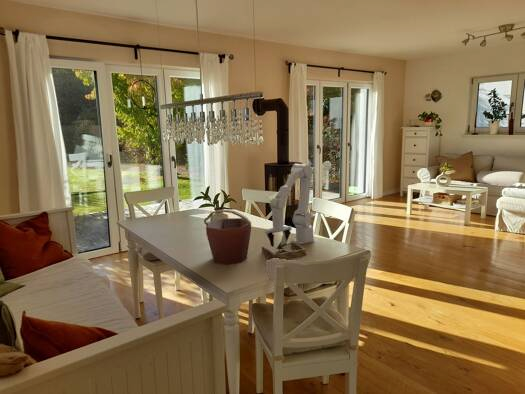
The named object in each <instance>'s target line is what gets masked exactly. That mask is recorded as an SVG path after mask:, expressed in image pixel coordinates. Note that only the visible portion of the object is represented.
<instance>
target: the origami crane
mask: <svg viewBox="0 0 525 394" xmlns="http://www.w3.org/2000/svg"><path fill="white" fill-rule="evenodd" d="M292 243H295V241H294V239H292V242H291V241H290V242H288V240H287V241H286V237H285V233H283V232H282V236H281V240H280V242H279V243H278V245H277V247H276V249H275V250H278V252H279V253H280V251H281V250H283V251H286V252H289V251H292V249H291V244H292Z"/></svg>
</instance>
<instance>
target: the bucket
mask: <svg viewBox="0 0 525 394" xmlns="http://www.w3.org/2000/svg"><path fill="white" fill-rule="evenodd" d="M217 213H218V214H219V213H229V214H234V216H235V215H236V216H237V217H238V218H236V217H234V218H233V217H232V218H231V217H230V218H227V217H226V218H225V217H224V218H220V219H219V218H218V219H216V220H212V221H208V220H209V219H210V218H212V216H214V215H215V214H217ZM203 223H204V224H205V226H206V227H205V232H206V236H207V242H208V245H209V248H210V252H211V256H212V258H213V262H214V264H219V265H224V266H229V265H236V264H237V265H238V264H242V263H243V262H244V261H245V260H246V259H248V252H249V246H250V239H251V234H252V233H251V232H252V221H251V220H250V219H249V218H248V216H245V215H244V214H242V213H241V212H238V211H236V210H230V209H220V210H215V211H211V212H210V213H209V214H208V215H207V217H205V218H204V219H203Z"/></svg>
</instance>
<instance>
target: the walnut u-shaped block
mask: <svg viewBox="0 0 525 394" xmlns="http://www.w3.org/2000/svg"><path fill="white" fill-rule="evenodd" d="M292 241H293V240H292ZM292 241H290V242H292ZM290 248H292V249H294V250H291V251H289V252H288V251H285V252H279V253H273V252H272V251H271V250H270V249H268V248H267V247H265V246H264V245H262V246H261V252H262V253H263V255H265V256H266V257H268V258H269V259H271V258H279V259H281V260H286V259H290V257H291V258H296V257H295V256H297V257H300V255H302V256H306V255H307V252H306V251H307V249H306V248H304V247H303V246H301V244H299V243H297V242H294V243H292V244H291V245H290ZM305 254H306V255H305ZM285 258H286V259H285Z"/></svg>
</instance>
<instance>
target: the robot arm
mask: <svg viewBox="0 0 525 394" xmlns="http://www.w3.org/2000/svg"><path fill="white" fill-rule="evenodd" d="M312 175H313V167H312V166H311V165H310V164H309V163H307V164H304V163H303V164H302V163H294V164H293V165H292V167H291V169H290V174H289V175H288V178H287V180H286V182H285V184H284V185H282V186H280V188H279V190H278V192H277V193H276V195H275V196H274V197H272V198H271V200H270V202H269V206H270V209H271V212H272V228H271V227H270V228H268V229H264V234H265V235H266V236H267V238H268V240H269V243H270V246H271V247H273V248H274V246H275V243H274V241H275V240H274V239H275V234H274V233H282V234H283V233H285V237H286V241H287V242H288V239H289V237H290V235H291V231H292V226H291V225H289V226H288V225H287V226H284V223H285V222H284V209H285V207H286V202H287V200H288V197H289V196H290V194H291V188H292V187H293V186H294V184H295V183H296V181H297V180H298V179H299V180H300V190H299V197H298V198H299V199H298V206H297V209H296V210H295V211H294V213H293V216H292V223H293V224H294V227H295V239H293V240H294V243H296V244H298V245H303V244H308V243H313V242H315V240H314V228H313V226H312V213H311V212H310V211H309V201H310V193H311V192H310V191H311V184H312Z"/></svg>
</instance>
